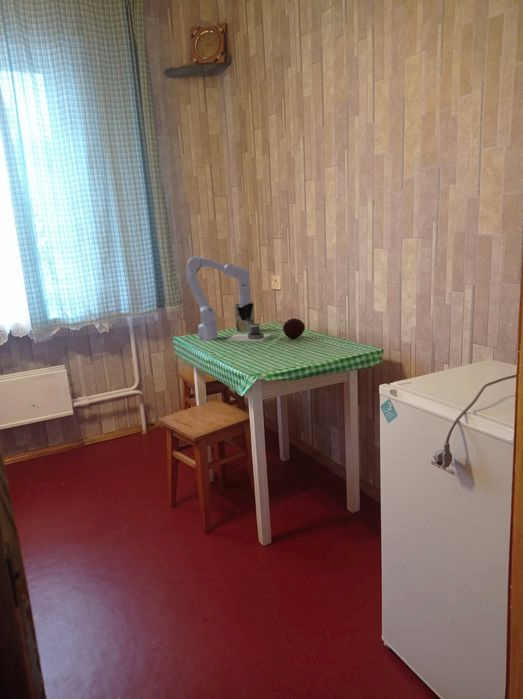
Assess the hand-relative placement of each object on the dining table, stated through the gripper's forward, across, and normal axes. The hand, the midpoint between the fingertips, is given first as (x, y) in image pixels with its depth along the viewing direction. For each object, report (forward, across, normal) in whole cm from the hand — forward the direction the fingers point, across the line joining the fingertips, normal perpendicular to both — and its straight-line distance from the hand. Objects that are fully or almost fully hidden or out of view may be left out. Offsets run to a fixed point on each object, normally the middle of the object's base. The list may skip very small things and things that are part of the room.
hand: (246, 319), depth 267 cm
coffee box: (+10, +16, +6) cm, 20 cm away
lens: (+9, -3, -6) cm, 11 cm away
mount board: (+10, -2, -1) cm, 11 cm away
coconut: (+10, 0, -25) cm, 27 cm away
